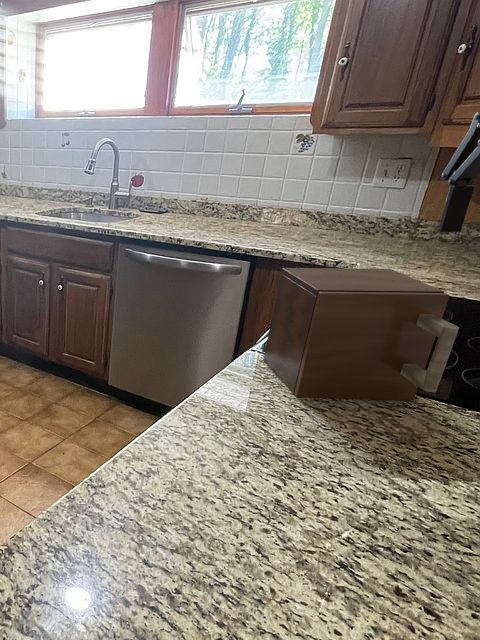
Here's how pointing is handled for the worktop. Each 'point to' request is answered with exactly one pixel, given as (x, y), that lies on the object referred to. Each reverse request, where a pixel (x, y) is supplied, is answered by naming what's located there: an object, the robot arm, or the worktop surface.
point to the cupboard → (299, 306)
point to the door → (375, 345)
